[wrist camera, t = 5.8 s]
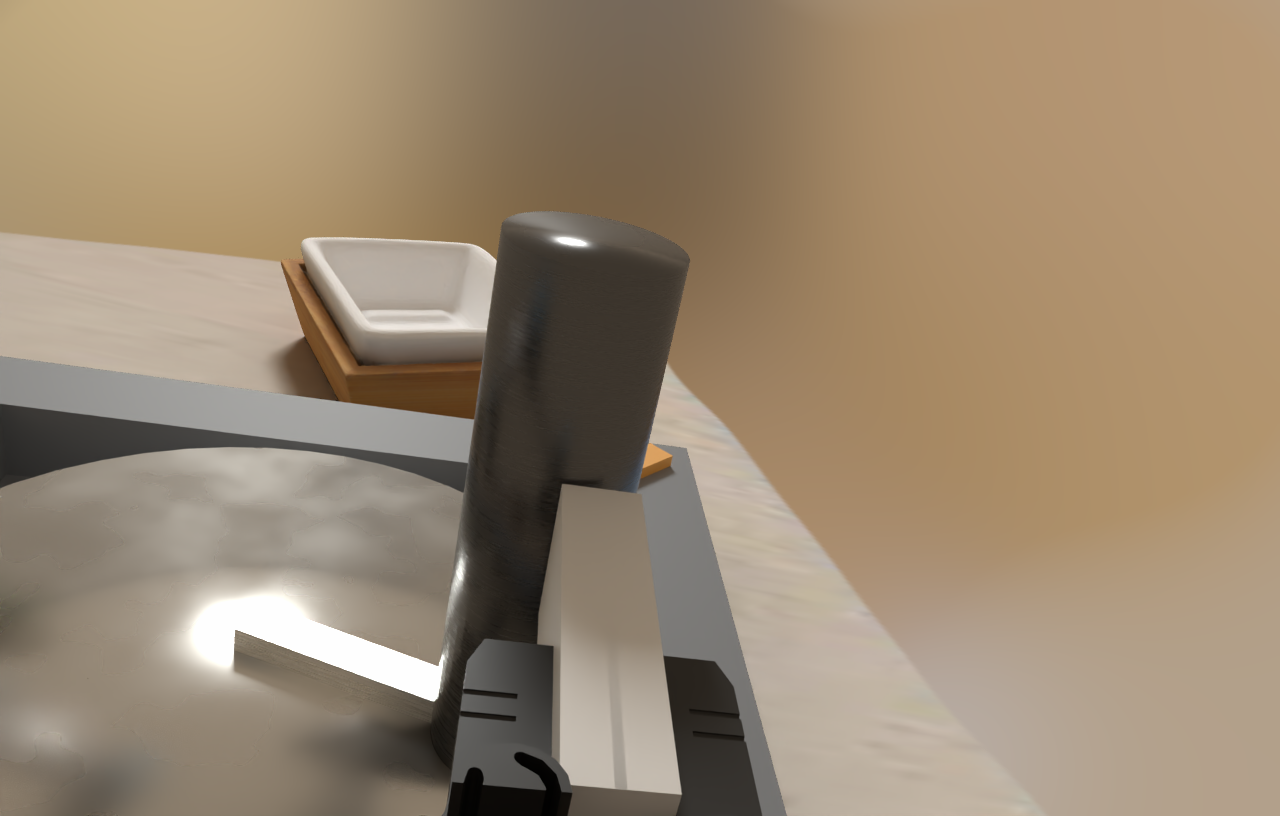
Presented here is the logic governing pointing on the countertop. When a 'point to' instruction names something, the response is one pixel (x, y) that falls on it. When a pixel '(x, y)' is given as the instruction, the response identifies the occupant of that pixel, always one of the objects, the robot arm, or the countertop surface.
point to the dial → (320, 571)
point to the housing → (411, 441)
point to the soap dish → (396, 319)
